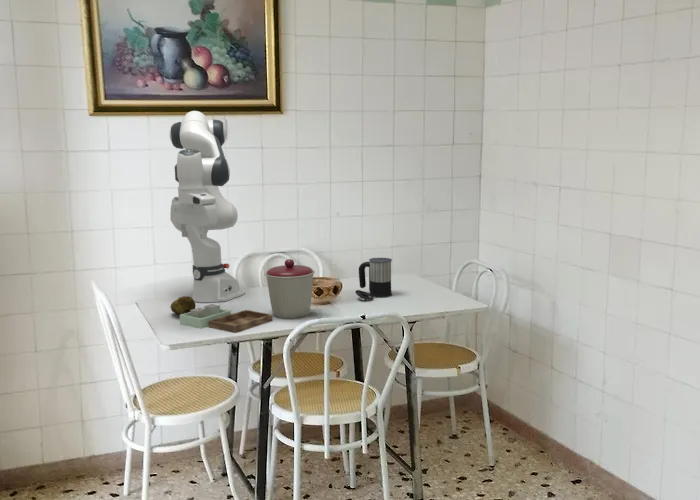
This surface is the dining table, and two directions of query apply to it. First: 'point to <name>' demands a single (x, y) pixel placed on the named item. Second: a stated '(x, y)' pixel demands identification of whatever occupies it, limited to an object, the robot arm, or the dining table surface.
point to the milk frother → (376, 278)
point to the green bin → (201, 319)
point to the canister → (290, 289)
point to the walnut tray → (240, 321)
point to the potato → (183, 305)
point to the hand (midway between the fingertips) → (194, 237)
